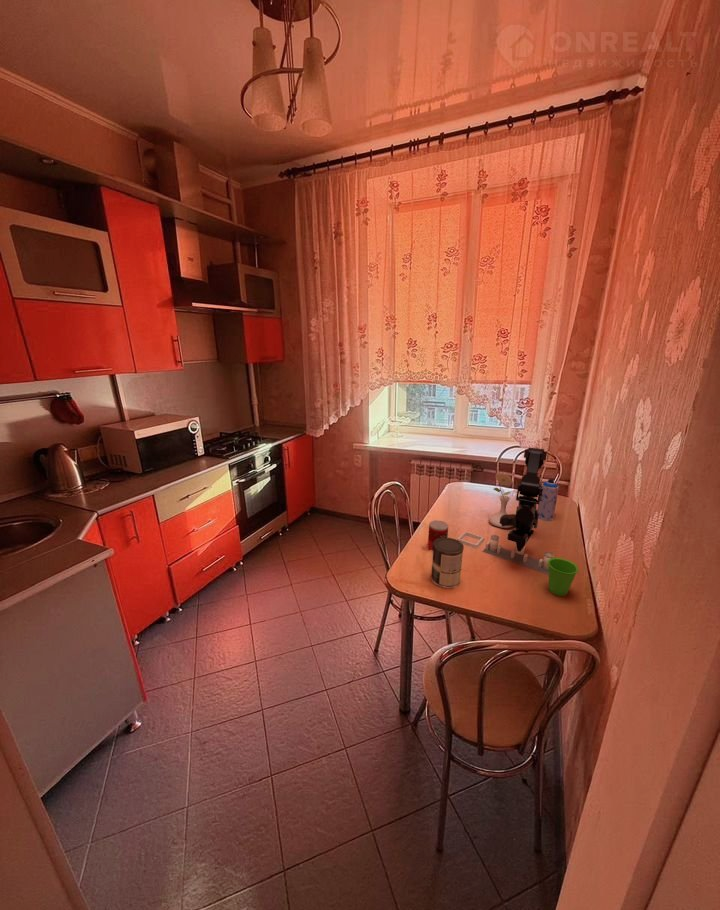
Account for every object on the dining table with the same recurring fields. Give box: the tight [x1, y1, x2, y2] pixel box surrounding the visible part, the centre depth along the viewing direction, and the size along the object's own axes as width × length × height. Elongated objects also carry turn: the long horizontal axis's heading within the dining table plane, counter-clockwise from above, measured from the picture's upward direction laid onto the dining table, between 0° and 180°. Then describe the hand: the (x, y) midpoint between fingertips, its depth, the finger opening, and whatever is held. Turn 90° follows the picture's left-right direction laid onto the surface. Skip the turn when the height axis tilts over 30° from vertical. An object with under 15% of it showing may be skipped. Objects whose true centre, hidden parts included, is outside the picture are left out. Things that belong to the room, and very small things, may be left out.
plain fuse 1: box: [489, 534, 500, 552], centre depth 145 cm, size 3×3×6 cm
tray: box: [456, 530, 485, 549], centre depth 152 cm, size 9×9×2 cm
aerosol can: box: [536, 478, 560, 522], centre depth 174 cm, size 8×8×20 cm
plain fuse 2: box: [542, 551, 555, 571], centre depth 133 cm, size 3×3×6 cm
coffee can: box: [430, 537, 465, 589], centre depth 126 cm, size 10×10×14 cm
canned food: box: [427, 519, 449, 551], centre depth 147 cm, size 8×8×11 cm
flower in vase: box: [488, 471, 513, 529], centre depth 166 cm, size 13×11×25 cm
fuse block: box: [481, 541, 549, 576], centre depth 140 cm, size 8×26×3 cm, turn 51°
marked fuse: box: [515, 543, 527, 555], centre depth 138 cm, size 3×3×6 cm
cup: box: [548, 557, 579, 597], centre depth 120 cm, size 9×9×11 cm
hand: (520, 549), depth 138 cm, fingers closed on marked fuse, 3 cm apart
